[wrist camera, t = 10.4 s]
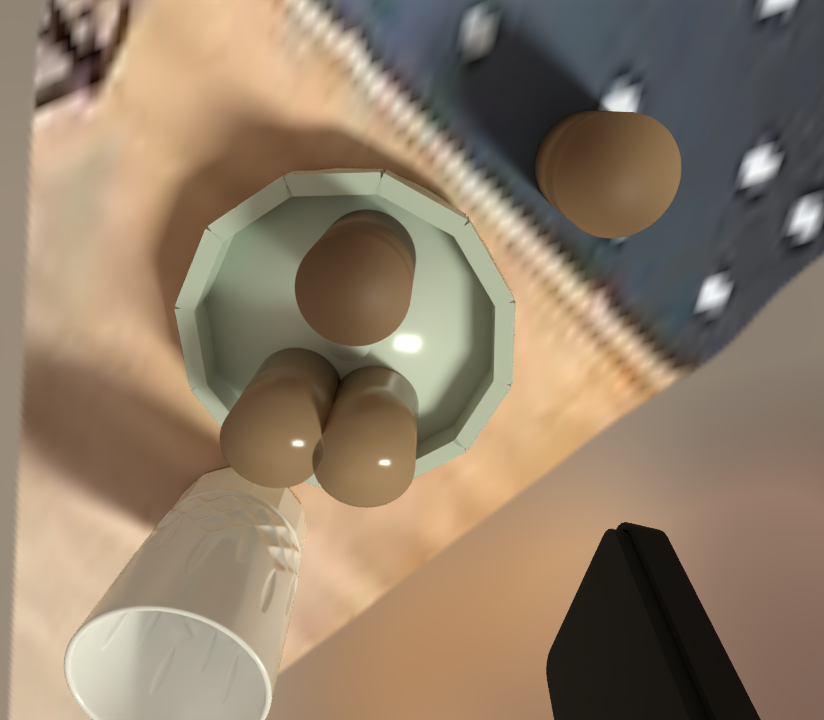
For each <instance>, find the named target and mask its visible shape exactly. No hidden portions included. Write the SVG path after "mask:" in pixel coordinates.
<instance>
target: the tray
mask: <svg viewBox="0 0 824 720" xmlns="http://www.w3.org/2000/svg"><path fill="white" fill-rule="evenodd" d="M364 209H369V210H377V211H381V212H384V213H386V214H388V215H390V216H392V217H393V218H395V219H396V220H398V221H399V222H400V223H401V224H402V225H403V226H404V227H405V228H406V230H407V231H408V233H409V234H410V236H411V238H412V241H413V243H414V247H415V251H416V265H415V273H414V280H413V287H412V294H411V301H410V306H409V309H408V312H407V314H406V317H405V319H404V320H403V322H402V323H401V325H400V326H399V327H398V328H397V329H396V331H394V332H393V333H392V334H391V335H390V336H388V337H387V338H385V339H383V340H381V341H379V342H377V343H374V344H371V345H366V346H346V345H341V344H337V343H334V342H332V341H330V340H327V339H326V338H324V337H322V336H321V335H319V334H318V333H317V332H316V331H315V330H313V329H312V328H311V327H310V325H309V324H308V323H307V322H306V321H305V319H304V317H303V316H302V314H301V312H300V310H299V308H298V305H297V301H296V296H295V278H296V273H297V270H298V267H299V265H300V263H301V261H302V259H303V258H304V256H305V255H306V254H307V252H308V251H309V250H310V249H311V248H312V247H313V246H314V244H315V243H316V242H317V241H318V240H319V239H320V238H321V237H322V235H323V234H324V233H325V232H326V231H327V230H328V229H329V227H330V226H331V225H332V224H333V223H334V222H335V221H336V220H338V219H339V218H340V217H342V216H343V215H345V214H347V213H350V212H352V211H357V210H364ZM514 300H515V299H514V297H513V294H512V292H511V290H510V288H509V286H508V284H507V283H506V281H505V279H504V277H503V276H502V274H501V272H500V270H499V269H498V267H497V265H496V263H495V262H494V260H493V258H492V256H491V253H490V251H489V249H488V248H487V246H486V245H485V243H484V242H483V240H482V239H481V237H480V236H479V234H478V232H477V230H476V229H475V227H474V225H473V223H472V222H471V220H470V218H469V216H468V217H467V216H466V214H465V213H464V212H462V211H460V210H458V209H457V208H455V207H453V206H451V205H450V204H449V203H448V202H447V201H445V200H444V199H442V198H441V197H439V196H438V195H436V194H435V193H433V192H432V191H430V190H429V189H427V188H425V187H423V186H421V185H419V184H417V183H414V182H412V181H410V180H408V179H406V178H402V177H400V176H398V175H396V174H394V173H392V172H391V171H389V170H386V171H385V172H383V169H365V168H346V167H340V168H329V169H319V170H311V171H292V172H289V173H287V174H284V175H282V176H280V177H279V178H278V179H276V180H275V181H273V182H272V183H270V184H269V185H267V186H266V187H264V188H263V189H261V190H260V191H258V192H257V193H255V194H254V195H253V196H251V197H250V198H248V199H247V200H245V201H244V202H242V203H241V204H239V205H238V206H236V207H235V208H233V209H232V210H230V211H229V212H227V213H226V214H225V215H223V216H222V217H220V218H219V219H217V220H216V221H214V222H213V223H211V224H210V225H208V228H206V229H205V231H204V233H203V236H202V238H201V241H200V243H199V246H198V248H197V251H196V254H195V256H194V259H193V261H192V264H191V266H190V269H189V271H188V274H187V276H186V279H185V281H184V284H183V286H182V289H181V291H180V294H179V296H178V299H177V301H176V304H175V306H176V308H175V315H176V320H177V325H178V330H179V335H180V341H181V346H182V351H183V356H184V362H185V367H186V372H187V377H188V382H189V388H193V389H192V390H191V391H192V393H193V394H194V395H195V396H196V397H197V399H198V400H199V401H200V402H201V403H202V405H203V406H204V407H205V408H206V410H207V411H208V412H209V413H210V414H211V416H212V417H213V418H214V419H215V420H216V422H217V423H218V424H219V425H220V426H221V431H220V445H221V449H222V452H223V455H224V457H225V459H226V460H227V462H228V464H229V465H230V466H231V467H232V468H233V470H234V471H235V472H236V473H238V474H239V475H240V476H241V477H243V478H244V479H246V480H248V481H250V482H252V483H254V484H257V485H260V486H263V487H268V488H287V487H292V486H295V485H298V484H300V483H302V482H306V483H309V484H311V485H313V486H316V485H317V483H318V487H322V488H323V489H324V490H325V491H326V492H327V493H328V494H329V495H330V496H332V497H333V498H335V499H336V500H338V501H340V502H342V503H345V504H348V505H351V506H356V507H366V508H368V507H377V506H382V505H385V504H388V503H390V502H392V501H394V500H396V499H397V498H398V497H400V496H401V495H402V494H403V493H404V492H405V491H406V490H407V489H408V487H409V486H410V484H411V482H412V480H413V479H414V478H416V477H418V476H420V475H422V474H424V473H426V472H428V471H430V470H432V469H434V468H436V467H438V466H440V465H442V464H444V463H446V462H448V461H450V460H452V459H454V458H456V457H458V456H460V455H462V454H464V453H466V449H467V450H469V449H470V448H471V446H472V445H473V443H474V442H475V440H476V439H477V437H478V436H479V434H480V433H481V431H482V430H483V428H484V427H485V425H486V424H487V422H488V421H489V419H490V418H491V416H492V415H493V413H494V412H495V410H496V409H497V408H498V406H499V405H500V403H501V402H502V400H503V399H504V397H505V396H506V394H507V393H508V391H509V390H510V388H511V384H512V380H513V354H514V327H515V301H514Z"/></svg>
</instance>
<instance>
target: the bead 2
mask: <svg viewBox="0 0 824 720" xmlns="http://www.w3.org/2000/svg"><path fill="white" fill-rule="evenodd" d="M535 176H536V181H537V184H538V187H539V189H540V191H541V193H542V194H543V196H544V197H545V198H546V199H547V201H549V202H550V203H551V204H552V205H553V206H554V207H555V208H556V209H558V210H559V211H560V212H561V213H562V214H563V215H565V216H566V217H567V218H568V219H569V220H570V221H571V222H573V223H574V224H575V225H576V226H577V227H578V228H580V229H581V230H583V231H585V232H587V233H589V234H591V235H594V236H597V237H602V238H621V237H626V236H630V235H633V234H636V233H638V232H640V231H642V230H644V229H645V228H647V227H649V226H650V225H651V224H653V223H654V222H655V221H656V220H658V219H659V218H660V217H661V215H662V214H663V213H664V212H665V211H666V210H667V208H668V207H669V205H670V204H671V202H672V200H673V198H674V196H675V194H676V192H677V189H678V186H679V182H680V177H681V158H680V153H679V149H678V147H677V144H676V142H675V140H674V138H673V136H672V135H671V134H670V132H669V131H668V130H667V129H666V128H665V127H664V126H663V125H662V124H661V123H659V122H658V121H657V120H655V119H653V118H651V117H649V116H646V115H643V114H640V113H634V112H613V111H590V110H588V111H580V112H576V113H573V114H571V115H568V116H566V117H564V118H563V119H561V120H560V121H558V122H557V123H556V124H555V125H554V126H552V127H551V129H550V130H549V131H548V132H547V133H546V135H545V136H544V138H543V139H542V141H541V143H540V145H539V148H538V151H537V154H536V158H535Z"/></svg>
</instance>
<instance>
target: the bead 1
mask: <svg viewBox="0 0 824 720" xmlns="http://www.w3.org/2000/svg"><path fill="white" fill-rule="evenodd" d="M415 265H416V251H415V247H414V243H413V241H412V238H411V236H410V234H409V233H408V231H407V230H406V228H405V227H404V226H403V225H402V224H401V223H400V222H399V221H398V220H396V219H395V218H393V217H392V216H390V215H388V214H386V213H384V212H381V211H377V210H369V209H364V210H357V211H352V212H350V213H347V214H345V215H343V216H342V217H340V218H339V219H338V220H336V221H335V222H334V223H333V224H332V225H331V226H330V227H329V229H328V230H327V231H326V232H325V233H324V234H323V235H322V237H321V238H320V239H319V240H318V241H317V242H316V243H315V244H314V246H313V247H312V248H311V249H310V250H309V251H308V252H307V254H306V255H305V256H304V258H303V259H302V261H301V263H300V265H299V267H298V270H297V273H296V278H295V296H296V301H297V305H298V308H299V310H300V312H301V314H302V316H303V317H304V319H305V321H306V322H307V323H308V324H309V325H310V327H311V328H312V329H313V330H315V331H316V332H317V333H318V334H319V335H321V336H322V337H324V338H326V339H327V340H330V341H332V342H334V343H337V344H341V345H346V346H366V345H371V344H374V343H377V342H379V341H381V340H383V339H385V338H387V337H388V336H390V335H391V334H392V333H393V332H394V331H396V329H397V328H398V327H399V326H400V325H401V323H402V322H403V320H404V319H405V317H406V314H407V312H408V309H409V306H410V301H411V294H412V287H413V280H414V273H415Z"/></svg>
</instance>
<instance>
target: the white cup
mask: <svg viewBox="0 0 824 720" xmlns="http://www.w3.org/2000/svg"><path fill="white" fill-rule="evenodd" d="M306 534H307V527H306V521H305V516H304V511H303V506H302V505H301V504H300V502H299V501H298V500H297V498H296V497H295V496H294V495H293V493H292V492H291V491H290V489H289V488H288V487H287V488H268V487H263V486H260V485H257V484H254V483H252V482H250V481H248V480H246V479H244V478H243V477H241V476H240V475H239V474H238V473H236V472H235V471H234V470H233V468H232V467H228V468H224V469H220V470H217V471H213V472H209V473H205V474H203V475H202V476H201V477H200V478H199V479H198V480H197V481H196V482H194V483H193V484H192V485H191V486H190V487H189V488H188V489H187V490H186V491H185V492H184V493H183V494H182V496H181V497H180V499H179V500H178V501H177V503H176V504H175V505H174V507H173V508H172V510H170V511H169V512H168V513H167V514H166V515H165V516H164V517H163V519H162V520H161V521H160V522H159V524H158V525H157V526H156V527H155V529H154V530H153V531H152V533H151V534H150V535H149V537H148V538H147V539H146V540H145V541H144V543H143V544H142V545H141V547H140V548H139V549H138V550H137V551H136V553H135V554H134V555H133V556H132V558H131V559H130V560H129V562H128V563H127V565H126V566H125V567H124V569H123V570H122V571H121V573H120V574H119V575H118V577H117V578H116V579H115V581H114V582H113V583H112V585H111V586H110V587H109V589H108V590H107V591H106V593H105V594H104V595H103V597H102V598H101V599H100V601H99V602H98V603H97V605H96V606H95V607H94V609H93V610H92V611H91V613H90V614H89V615H88V617H87V618H86V619H85V621H84V622H83V623H82V625H81V626H80V627H79V629H78V630H77V631H76V633H75V634H74V635H73V637H72V638H71V640H70V642H69V644H68V646H67V649H66V652H65V657H64V673H65V678H66V682H67V685H68V687H69V690H70V692H71V694H72V696H73V697H74V699H75V700H76V702H77V703H78V705H79V706H80V707H81V708H82V710H83V711H84V712H85V713H86V714H87V715H88V716H89V717H90V718H91V719H92V720H265V718H266V717H267V715H268V712H269V709H270V706H271V701H272V697H273V692H274V688H275V683H276V679H277V674H278V670H279V666H280V661H281V657H282V653H283V649H284V644H285V640H286V636H287V631H288V627H289V623H290V618H291V613H292V608H293V602H294V596H295V592H296V587H297V582H298V578H299V565H300V559H301V554H302V550H303V546H304V542H305V538H306Z"/></svg>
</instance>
